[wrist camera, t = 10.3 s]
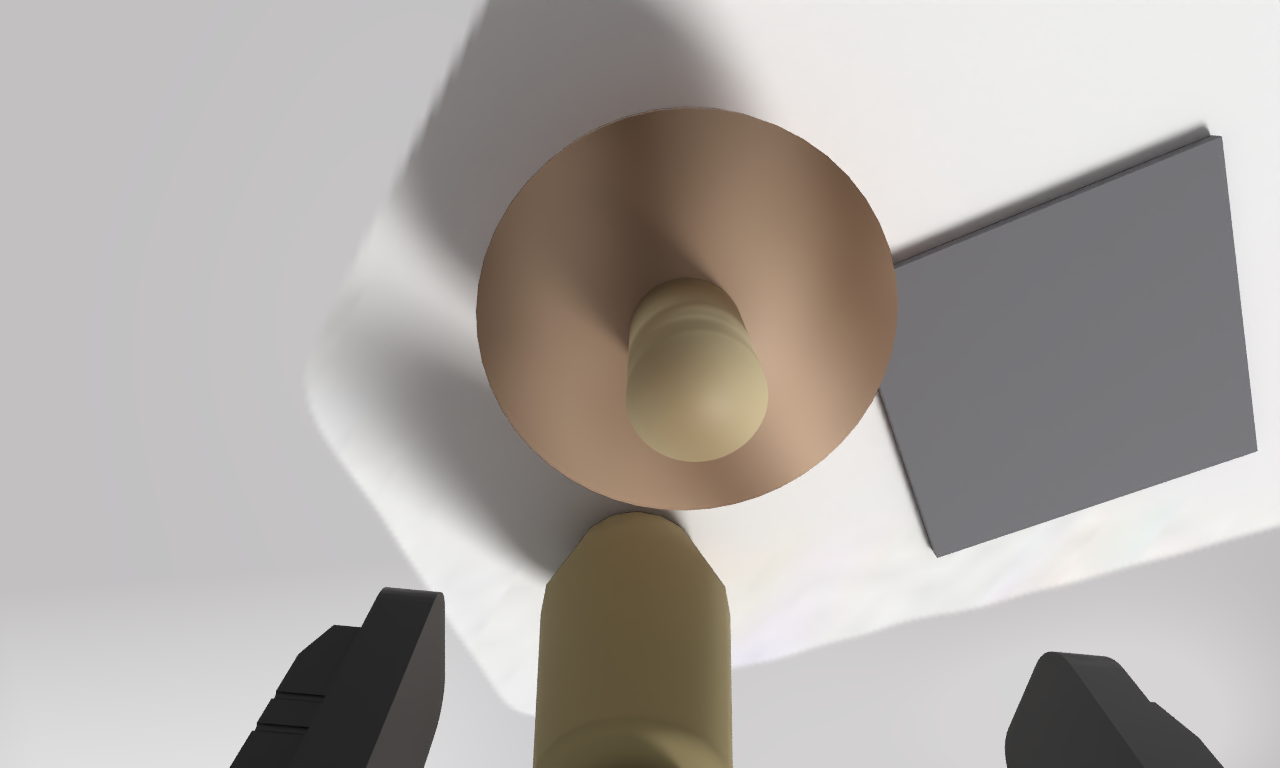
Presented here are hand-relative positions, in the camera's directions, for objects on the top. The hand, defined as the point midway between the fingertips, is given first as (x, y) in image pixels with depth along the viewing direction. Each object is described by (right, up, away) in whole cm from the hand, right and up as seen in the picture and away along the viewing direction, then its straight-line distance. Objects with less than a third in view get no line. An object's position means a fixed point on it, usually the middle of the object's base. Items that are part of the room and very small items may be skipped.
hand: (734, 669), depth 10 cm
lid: (0, +6, +14) cm, 15 cm away
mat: (+16, +4, +20) cm, 26 cm away
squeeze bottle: (-1, -4, +24) cm, 25 cm away
